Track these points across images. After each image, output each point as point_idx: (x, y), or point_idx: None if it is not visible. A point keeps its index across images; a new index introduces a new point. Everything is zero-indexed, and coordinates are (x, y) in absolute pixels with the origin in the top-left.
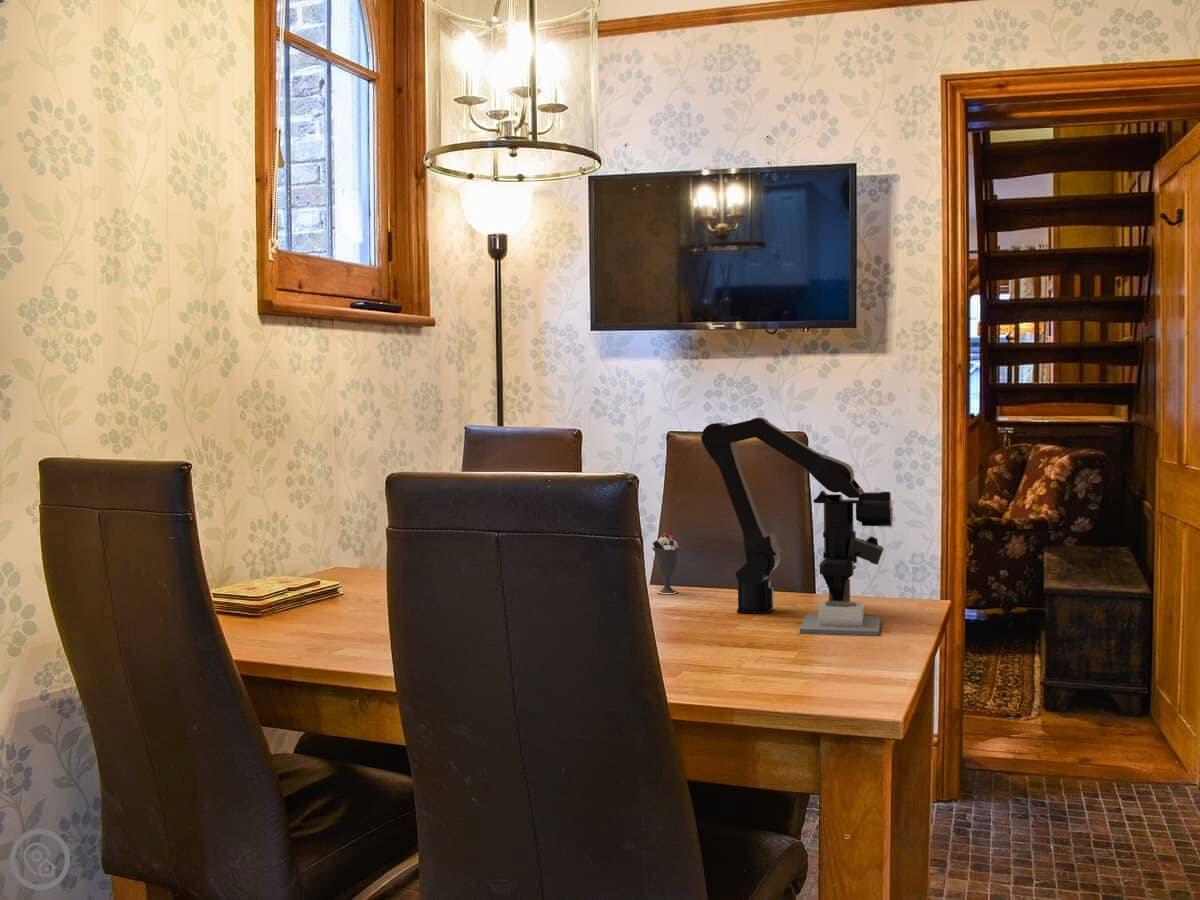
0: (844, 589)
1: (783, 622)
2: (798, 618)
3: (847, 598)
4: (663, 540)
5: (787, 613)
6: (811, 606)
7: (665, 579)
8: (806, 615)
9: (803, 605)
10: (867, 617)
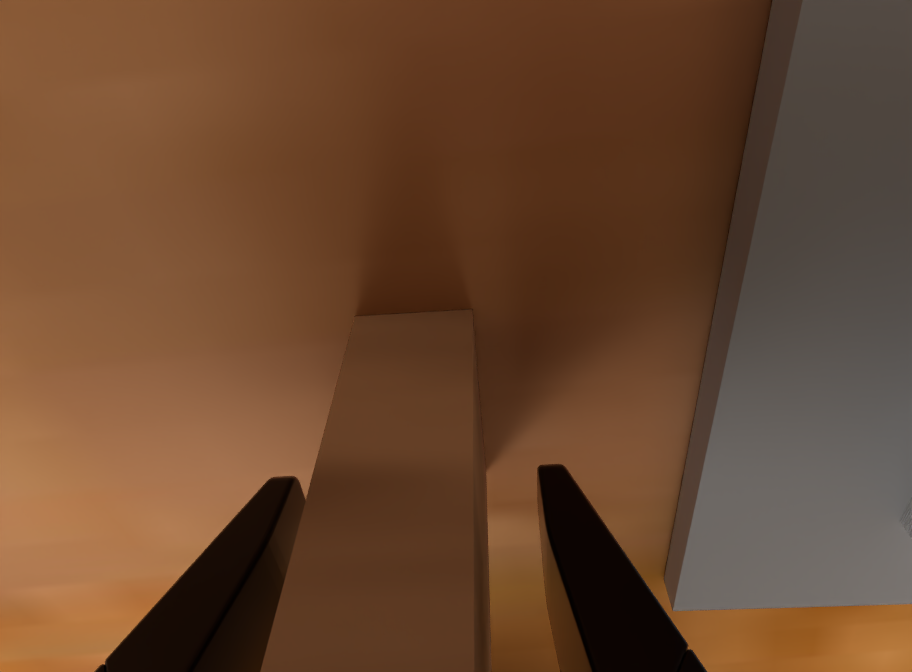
0: (697, 670)
1: (818, 657)
2: None
3: (474, 485)
4: None
5: None
6: (147, 598)
7: None
8: (729, 607)
9: None
10: (902, 66)
